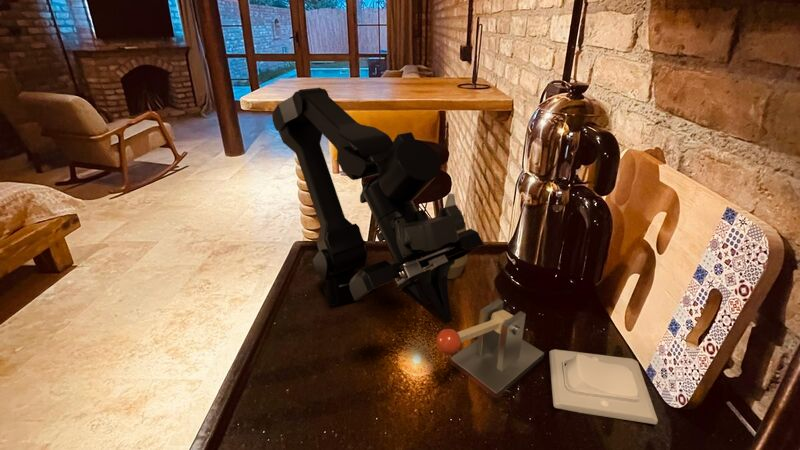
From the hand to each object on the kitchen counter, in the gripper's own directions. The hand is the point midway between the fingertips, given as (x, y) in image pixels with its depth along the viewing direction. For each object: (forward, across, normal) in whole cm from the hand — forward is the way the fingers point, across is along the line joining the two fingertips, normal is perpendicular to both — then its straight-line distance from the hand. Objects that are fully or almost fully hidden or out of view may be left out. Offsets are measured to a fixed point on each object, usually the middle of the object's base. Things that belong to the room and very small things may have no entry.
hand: (447, 323), depth 52 cm
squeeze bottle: (-8, +22, +27) cm, 36 cm away
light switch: (+18, +20, +2) cm, 27 cm away
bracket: (+9, +12, +10) cm, 18 cm away
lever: (+4, +5, +4) cm, 8 cm away
